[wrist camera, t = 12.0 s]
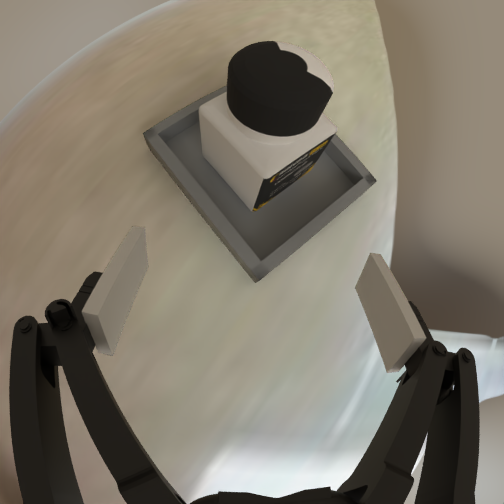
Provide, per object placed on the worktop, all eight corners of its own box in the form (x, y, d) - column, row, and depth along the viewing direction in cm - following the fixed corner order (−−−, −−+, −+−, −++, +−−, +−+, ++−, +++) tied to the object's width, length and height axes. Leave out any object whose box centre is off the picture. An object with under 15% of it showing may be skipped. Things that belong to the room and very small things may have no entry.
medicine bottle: (252, 214, 23) (282, 133, 11) (201, 155, 24) (192, 53, 12) (312, 170, 25) (370, 84, 13) (261, 118, 25) (286, 20, 13)
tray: (148, 147, 24) (142, 133, 22) (261, 83, 27) (264, 68, 24) (255, 282, 23) (259, 280, 20) (364, 190, 26) (376, 181, 23)
